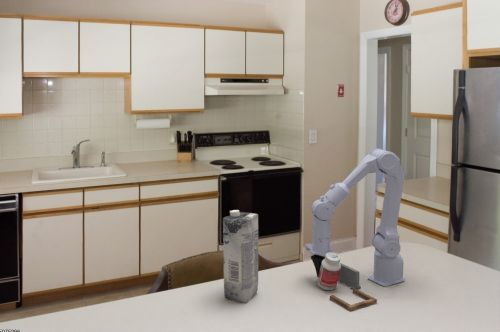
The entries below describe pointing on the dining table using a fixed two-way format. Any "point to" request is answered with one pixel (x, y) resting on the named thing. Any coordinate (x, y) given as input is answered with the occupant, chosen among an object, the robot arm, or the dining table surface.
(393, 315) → the dining table surface
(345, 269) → the slate screen
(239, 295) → the juice carton
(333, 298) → the walnut bracket
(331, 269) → the pill bottle
